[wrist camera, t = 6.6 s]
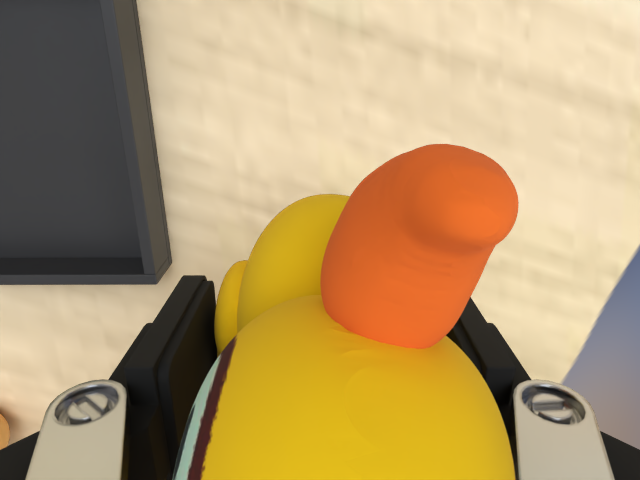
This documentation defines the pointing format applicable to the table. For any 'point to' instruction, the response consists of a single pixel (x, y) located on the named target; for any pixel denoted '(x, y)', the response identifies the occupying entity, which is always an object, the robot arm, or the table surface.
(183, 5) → the table surface
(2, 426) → the figurine
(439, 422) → the duckling
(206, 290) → the robot arm
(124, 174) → the pan
